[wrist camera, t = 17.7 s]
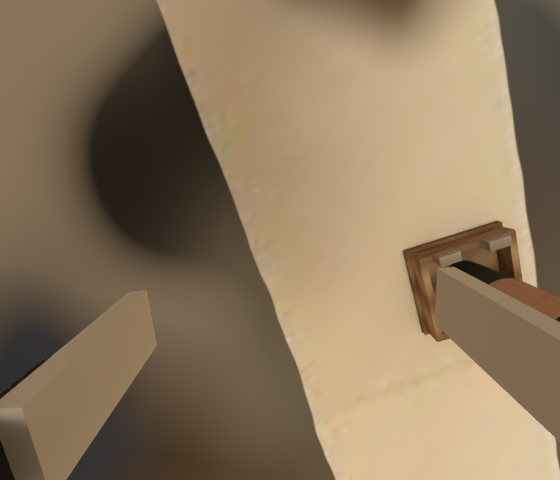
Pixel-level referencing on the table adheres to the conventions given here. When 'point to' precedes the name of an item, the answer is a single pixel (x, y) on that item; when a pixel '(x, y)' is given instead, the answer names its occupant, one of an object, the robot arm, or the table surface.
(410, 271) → the tray
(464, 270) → the travel mug
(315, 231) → the table surface
